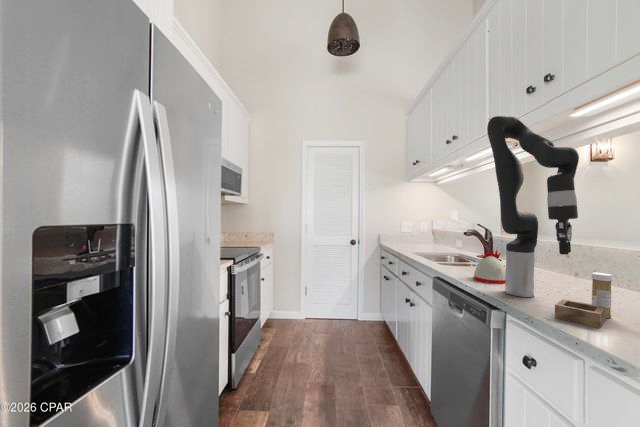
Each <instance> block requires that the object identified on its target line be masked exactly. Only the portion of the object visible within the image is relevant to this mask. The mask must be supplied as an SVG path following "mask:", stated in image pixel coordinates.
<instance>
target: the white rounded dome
mask: <svg viewBox="0 0 640 427" xmlns="http://www.w3.org/2000/svg"><path fill="white" fill-rule="evenodd" d="M498 252H499V251H498V250H495V253H494V249H491V251H490V249H488V250H487V251H484V254H483V253H481V256H482V258H481V260H479V262H478V263H477V265H476V267H475V270H474V274H473V279H474V280H475V281H477V282H480V283H481V282H482V283H487V284H494V285H495V284H496V285H500V284H501V285H503V284H504V285H505V275H506V265H504V264H503V262H501V261H500V260H499V258H500V257H501V252H500V253H498Z"/></svg>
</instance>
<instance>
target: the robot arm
mask: <svg viewBox="0 0 640 427" xmlns="http://www.w3.org/2000/svg"><path fill="white" fill-rule="evenodd" d="M486 129H487V136H488V140H489V144H490V146H491V150H492V151H491V152H492V155H493V161H494V167H495V168H494V169H495V174H496V182H497V186H498V192H499V201H500V202H499V203H500V221H501V227H502V229H503V231H504V232H505V233H506V234H509V235H516V237H515V239H514V240H512V241H510V242H507V243H506V245H505V246H506V247H505V248H506V249H505V250H506V251H505V252H506V253H505V271H506V275H505V284H504V285H505V286H504V288H505V293H506V294H508V295H511V296H515V297H521V298H534V297H535V250H536V247H537V244H538V236H539V235H538V234H539V221H538V219H539V218H538V217H537V215H536V214H535V213H534V212H532V211H528V210H527V211H524V210H523V211H522V210H518V207H517V197H518V193H519V191H520V190H521V188H522V186H523V183H524V179H525V176H524V170H523V165H522V162H521V160H520V159H519V158H518V157H517V155H516V154H515V153H514V152H513V150H511V148H510V147H509V145H508V142H507V141H506V139H512V140H514V141H515V140H516V141H518V144H519V146H520V148H521V150H523V151H524V152H526V153H528V154H530V155H531V156H533V157H534V159H535V161H536V162H537V164H539V165H540V166H542V167H544V168H549V169H557V172H556V174H553V175H550V176H548V177H547V179H546V187H547V188H546V189H547V197H546V198H547V203H546V204H547V213H548V214H547V216H548V220H550V221H551V220H553V221H555V220H556V221H557V222H555V225H554V228H555V235H556V240H557V242H558V249H559V254H560V255H563V256H564V255H569V254H570V253H571V251H572V247H571V241H572V236H573V232H572V231H573V225H572V224H571V222H569V220H577V219H578V218H579V212H578V202H577V195H576V188H575V176H576V172H577V169H578V164H579V161H580V155H579V153H578V151H577V149H576V148H575V147H572V146H555V144H554V142H553V141H552V140H550V139H549V138H548V137H545V136H543V135H541V134H539V133H537V132H535V131H533V130H532V129H531V128H529V127H528V126H527V125H526V124H525V123H524V122H522V121H521V120H520V119H519V118H518V117H516V116H505V115H501V116H499V115H497V116H493V117H491V118H490V119H489V121H488V123H487V128H486Z"/></svg>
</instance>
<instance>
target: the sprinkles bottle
mask: <svg viewBox="0 0 640 427" xmlns="http://www.w3.org/2000/svg"><path fill="white" fill-rule="evenodd" d="M591 279H592V281H591V282H592V284H591V304H592V305H597V306H602V307H606V319H611V318H612V314H611V312H612V310H611V309H612V282H613V275H612V274H609V273H604V272H591Z"/></svg>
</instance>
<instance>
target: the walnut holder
mask: <svg viewBox="0 0 640 427" xmlns="http://www.w3.org/2000/svg"><path fill="white" fill-rule="evenodd" d="M554 318H555V319H559V320H563V321H566V322H567V321H568V322H571V323H576V324H580V325H584V326H589V327H592V328H597V329H601V328H602V326H603V325H604V324H605V322H606V320H607V318H606V307H602V306H597V305H592V303H585V302H582V301H576V300H570V299H564V298H563V299H561V300H560V301H558V302H557V303H555V304H554Z"/></svg>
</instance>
